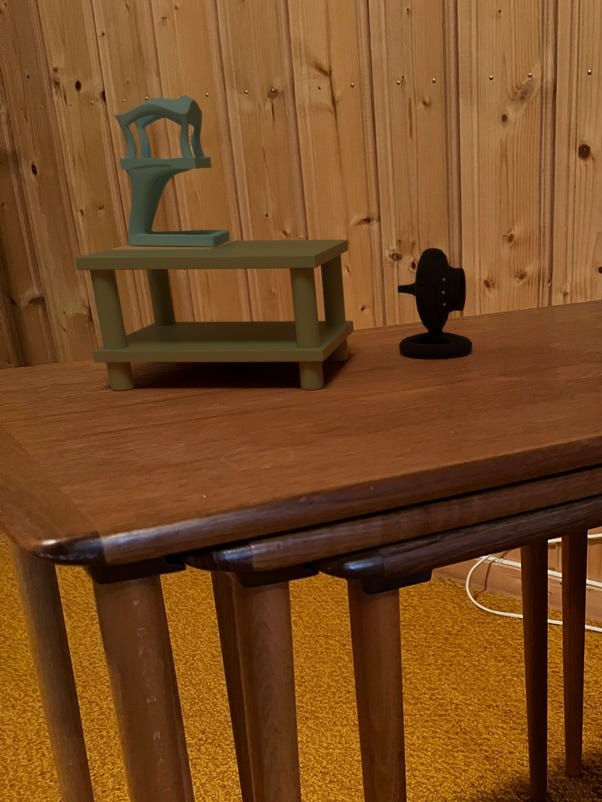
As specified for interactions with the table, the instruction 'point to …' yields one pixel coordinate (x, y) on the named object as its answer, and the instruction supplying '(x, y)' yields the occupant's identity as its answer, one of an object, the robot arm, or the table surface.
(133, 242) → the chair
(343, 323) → the shelf
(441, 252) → the webcam
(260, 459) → the table surface
